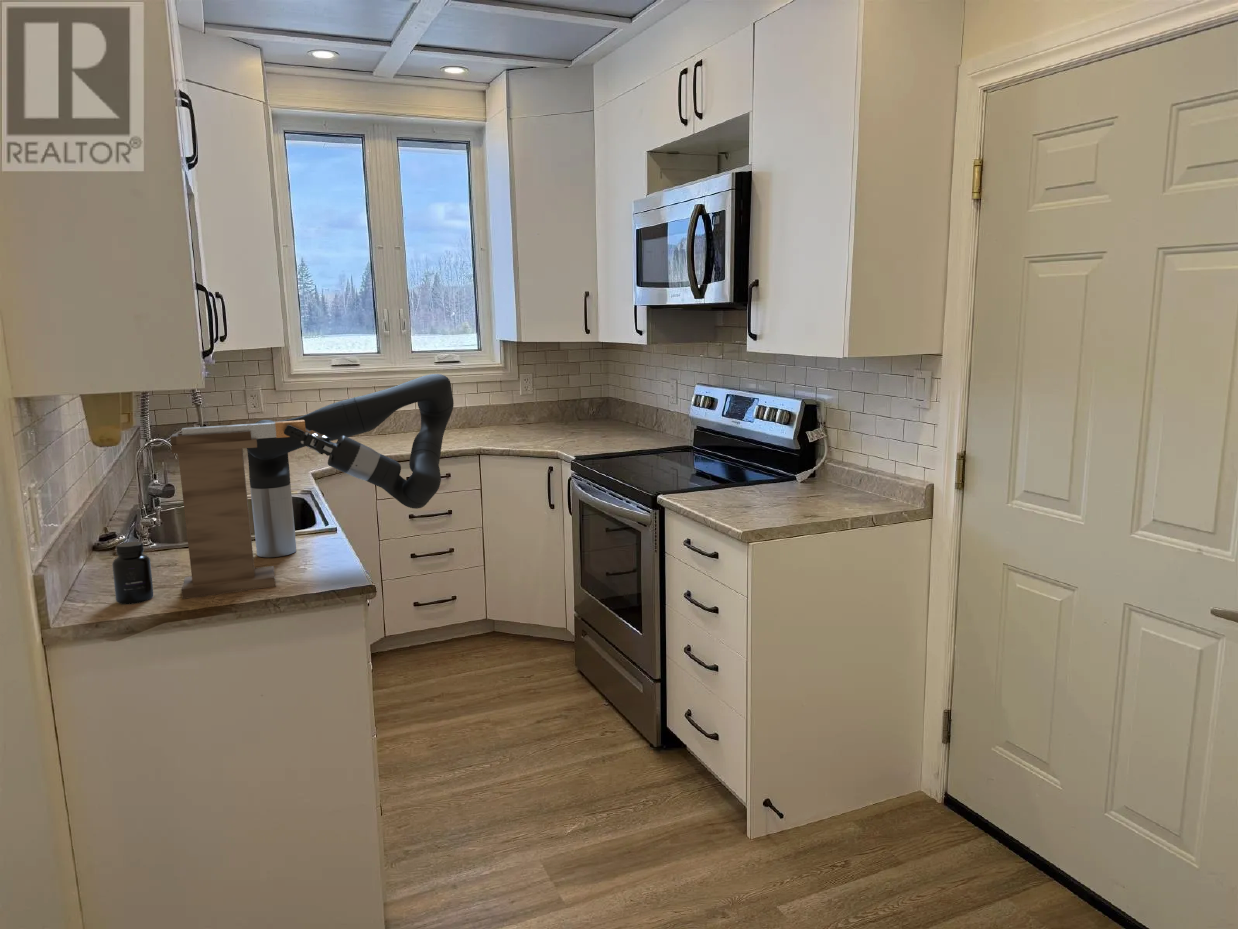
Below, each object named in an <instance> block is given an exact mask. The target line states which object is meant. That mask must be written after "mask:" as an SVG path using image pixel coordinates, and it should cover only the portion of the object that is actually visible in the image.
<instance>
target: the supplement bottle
mask: <svg viewBox="0 0 1238 929" xmlns="http://www.w3.org/2000/svg"><path fill="white" fill-rule="evenodd" d="M115 549H116V555H117V557H116V558H115V559H114V560H113V561H112V563H111V564H112V565H111V566H112V573H113V574H112V575H113V584H114V595H115V601H116V603H117V604H120V605H134V604H135V605H136V604H140V603H144V602H147V601H149V600H151V599H153V598H154V587H153V586H154V585H153V577H152V576H153V575H152V566H151V558H150V557H149V556H148V555H147V554H145V553H144V551H145V549H144V542H142V541H128V542H122V543H119V544H117V545H116V546H115Z"/></svg>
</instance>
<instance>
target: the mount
mask: <svg viewBox="0 0 1238 929" xmlns="http://www.w3.org/2000/svg"><path fill="white" fill-rule="evenodd" d="M170 442H171V443H170V444H171V446H170V449H171V455H172V454H177V455H178V456H177V458H178V466H179V473H180V484H181V491H182V499H183V500H182V501H183V509H184V519H185V527H186V528H185V529H186V536H187V537H186V538H187V545H188V554H189V562H190V563H189V564H190V570H191V571H190V572H191V573H190V574H191V576H185V577H184V580H183V583H182V587H181V597H182V599H183V600H184V599H190V598H198V597H204V596H205V597H206V596H213V595H220V594H226V593H235V592H243V591H250V590H257V589H263V588H265V589H266V588H273V587H276V577H275V566H274V565H269V566H263V567H261V566H260V567H255V562H254V551H253V542H252V533H251V522H250V521H251V520H250V511H249V510H250V509H249V503H248V502H249V501H248V492H247V483H246V482H247V481H246V472H245V460H244V451H243V450H244V449H247V448H256V447H257V439H251V431H243V432H227V433H212V434H197V435H182V432H179V433H172V435H171V436H170Z"/></svg>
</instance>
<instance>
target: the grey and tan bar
mask: <svg viewBox="0 0 1238 929" xmlns="http://www.w3.org/2000/svg"><path fill="white" fill-rule="evenodd" d="M279 421H280V422H276V421H274V422H272V423H256V422H255V423H256V424H254V423H244V424H243V423H242V424H241V423H239V424H229V425H228V424H227V425H224V424H223V425H210V426H197V427H196V426H195V427H194V426H193V427H182V428H181V433H182V435H197V434H212V433H227V432H243V431H251V439H261V438H275V437H276V438H283V437H289V436H287V435H285V434H284V430H285V429H286V427H287V425H291V426H293V427H295V428H297V429H299V430H302V431H304V433H305V432H306V429H305V421H304V420H296V421H282V420H279Z"/></svg>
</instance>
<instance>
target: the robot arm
mask: <svg viewBox="0 0 1238 929" xmlns="http://www.w3.org/2000/svg"><path fill="white" fill-rule="evenodd" d="M415 403H417V408H418V409H419V413H420V414H419V415H420V429H419V432H418V433H417V434H416V436H415V438H414V440H413V442H412V446H411V451H410V455H409V461H408V462H409V469H410V471H411V475H410V476H409V477H408V479H405V478H403V477H402V476H401V472H402V466H401V464H400V462H399V461H396V460H395V459H392V458H390V457H388V456H386V455H384V454H382V453H381V452H379V451H376V450H375V449H373V448H372V447H370V446H368V445H365V444H363V443H361V442H359V441H358V440H355V439H353V438H350V437H354V436H357V435H361V434H364V433H368V432H371V431H373V430H375V429H376V428H377V427H379V426H380V425H381V424H382V423H383V422H385V421H387V419H388V418H390V417H391V415H393V414H394V413H396V411H398V410H400V409H401V408H404V407H406V406H409V405H413V404H415ZM454 404H455V403H454V396H453V389H452V384H451V380H450V379H449V378H448V377H447V376H446V375H445V374H441V373H432V374H431V373H430V374H426V375H423V376H419V377H417V378H415V379H414V378H413V379H411V380H408V381H406V382H405V381H404V382H403V383H400V384H398V385H394V386H392V387H389V388H386V389H385V388H384V389H382V390H379V391H374V392H372V393H367V394H364V395H360V396H359V395H358V396H355V397H351V398H347V399H343V400H340V401H336V402H333V403H330V404H328V405H325V406H323V407H320V408H318V409H315V410H314V411H311V412H309V413H307V414H305V415H302V416H301V415H300V416H297V417H293V418H288V419H283V420H277V421H274V420H271V419H262V420H259V421H255V423H253V424H256V423H272V422H280V421H296V420H304V421H305V429H306V432H305V433H304V431H302V430H299V429H297V428H295V427H293V426H291V425H287V427H286V429H285V430H284V434H285V435H287V436H289V437H283V438H276V437H275V438H261V439H257V447H256V448H246V451H247V452H246V453H247V461H248V475H249V476H248V479H249V487H250V498H251V508H252V517H253V518H252V519H253V526H254V527H253V528H254V537H255V538H254V540H255V549H256V555H257V557H260V558H275V557H276V558H277V557H284V556H288V555H292V554H294V553H296V552H297V541H296V529H295V528H296V527H295V519H294V507H293V495H292V486H291V474H290V473H291V472H290V463H289V462H290V461H289V453H291V452H294V451H296V450H300V449H303V448H305V447H307V448H308V449H311V450H313V451H315V452H316V453H318V454H319V455H325V456H327V457H328V456H329V457H328V460H327V465H328V466H329V467H330V468H333V469H334V470H335V469H336V470H338V471H340V472H343V473H344V474H347V475H349V476H351V477H354V478H356V479H359V480H362V481H365V482H368V483H370V484H372V485H374V486H377V487H378V488H381V489H383V490H384V491H385V492H387V494H389V495H390V496H391V497H392V498H394V499H395V500H397V502H398V503H400V504H402V505H403V506H405V507H406V508H410V509H422V508H423V507H424V508H425V506H426V505H427V504H428V503H429V501H430V500H432V498H433V497H434V496H435V495H436V493H437V492H438V491H439V489H440V485H441V483H442V474H441V469H440V460H441V453H442V445H443V440H444V434H445V432H446V429H447V424H448V423H449V420H450V418H451V416H452V413H453V410H454ZM336 440H337V441H336ZM333 441H336V442H333Z"/></svg>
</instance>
